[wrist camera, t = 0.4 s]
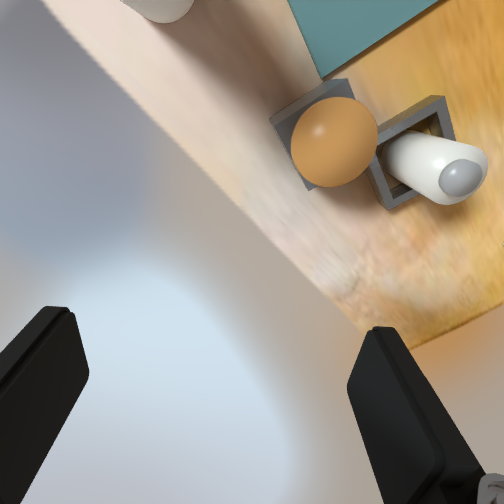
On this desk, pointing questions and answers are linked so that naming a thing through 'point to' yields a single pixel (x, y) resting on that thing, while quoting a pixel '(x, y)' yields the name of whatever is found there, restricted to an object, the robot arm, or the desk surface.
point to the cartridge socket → (427, 108)
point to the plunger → (334, 141)
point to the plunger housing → (294, 111)
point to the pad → (349, 26)
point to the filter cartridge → (435, 165)
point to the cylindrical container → (160, 9)
